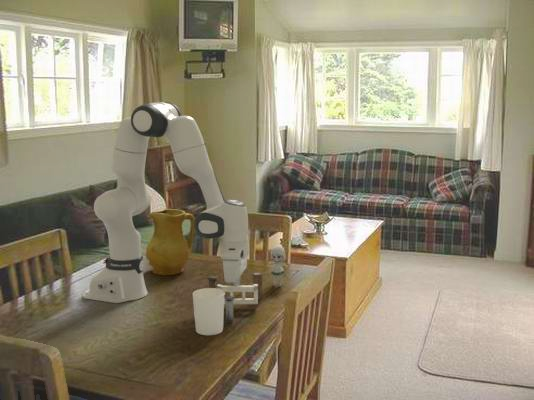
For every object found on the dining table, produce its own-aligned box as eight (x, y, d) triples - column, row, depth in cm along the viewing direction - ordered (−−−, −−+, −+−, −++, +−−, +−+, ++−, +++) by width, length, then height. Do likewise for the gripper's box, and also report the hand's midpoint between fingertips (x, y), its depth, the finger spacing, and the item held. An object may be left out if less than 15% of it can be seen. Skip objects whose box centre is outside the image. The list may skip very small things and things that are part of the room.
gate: (217, 304, 219) (217, 285, 218) (217, 303, 221) (217, 284, 220) (257, 304, 220) (257, 285, 218) (257, 302, 221) (257, 284, 220)
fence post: (256, 299, 229) (256, 274, 227) (252, 298, 230) (252, 273, 229) (262, 298, 230) (262, 273, 228) (258, 296, 232) (258, 272, 230)
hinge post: (207, 309, 219) (206, 278, 217) (209, 306, 222) (209, 276, 220) (215, 309, 219) (215, 279, 217) (218, 306, 221) (217, 276, 220)
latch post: (224, 323, 206) (223, 298, 205) (226, 320, 209) (226, 295, 208) (232, 323, 206) (232, 299, 204) (235, 320, 208) (234, 296, 207)
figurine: (262, 285, 245) (262, 246, 243) (268, 280, 251) (268, 242, 248) (288, 288, 241) (288, 248, 239) (294, 283, 247) (294, 245, 244)
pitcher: (153, 263, 274) (153, 205, 269) (196, 267, 272) (198, 208, 267) (140, 276, 258) (140, 214, 253) (186, 280, 255) (187, 218, 250)
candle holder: (212, 338, 194) (211, 300, 191) (186, 332, 199) (185, 294, 197) (231, 328, 202) (231, 291, 200) (206, 322, 207) (205, 286, 205)
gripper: (233, 241, 229) (234, 279, 232) (219, 255, 209) (221, 297, 212) (250, 241, 228) (251, 279, 231) (238, 256, 208) (240, 297, 211)
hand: (236, 288), depth 221 cm, fingers closed
